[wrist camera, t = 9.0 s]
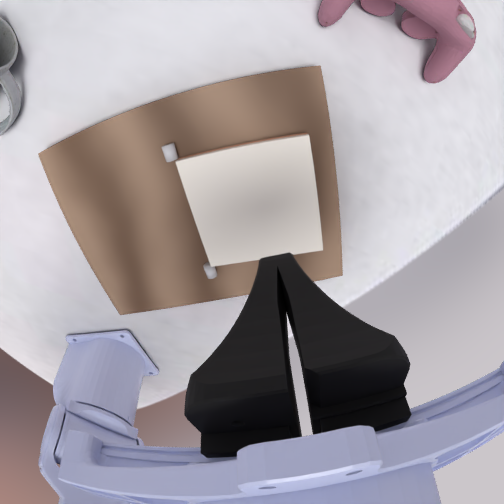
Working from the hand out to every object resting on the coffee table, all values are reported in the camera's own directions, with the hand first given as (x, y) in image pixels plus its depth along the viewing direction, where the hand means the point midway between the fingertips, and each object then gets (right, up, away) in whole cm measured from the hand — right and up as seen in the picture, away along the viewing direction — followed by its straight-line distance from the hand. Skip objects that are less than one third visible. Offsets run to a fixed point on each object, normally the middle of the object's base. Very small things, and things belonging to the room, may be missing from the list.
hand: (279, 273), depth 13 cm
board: (-5, +4, +8) cm, 11 cm away
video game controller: (+8, +17, +1) cm, 18 cm away
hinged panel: (-1, +4, +6) cm, 7 cm away
